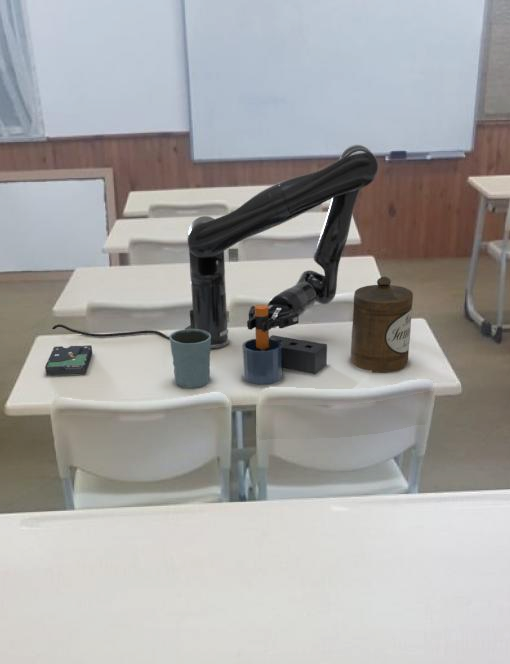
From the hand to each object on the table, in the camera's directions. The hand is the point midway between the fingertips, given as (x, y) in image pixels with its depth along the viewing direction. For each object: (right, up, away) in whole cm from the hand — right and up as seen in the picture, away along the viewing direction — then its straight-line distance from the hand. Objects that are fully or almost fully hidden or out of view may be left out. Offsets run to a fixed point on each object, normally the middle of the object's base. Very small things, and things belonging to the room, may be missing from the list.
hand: (256, 326), depth 203 cm
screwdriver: (+2, -8, +8) cm, 12 cm away
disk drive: (-49, -5, +21) cm, 54 cm away
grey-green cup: (-16, -12, +10) cm, 22 cm away
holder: (+10, -6, +17) cm, 20 cm away
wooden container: (+32, -5, +18) cm, 37 cm away
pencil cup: (+2, -11, +10) cm, 15 cm away
